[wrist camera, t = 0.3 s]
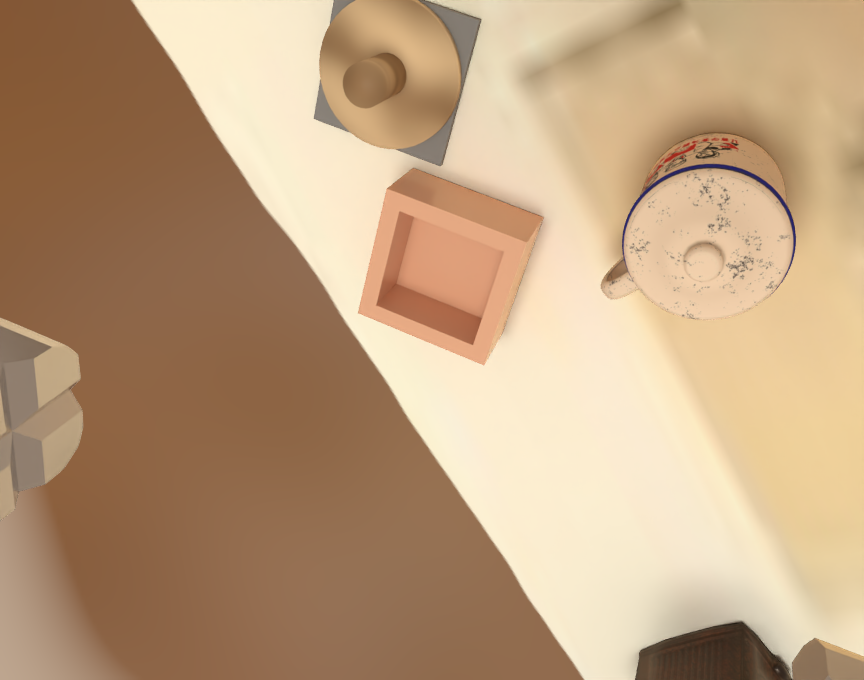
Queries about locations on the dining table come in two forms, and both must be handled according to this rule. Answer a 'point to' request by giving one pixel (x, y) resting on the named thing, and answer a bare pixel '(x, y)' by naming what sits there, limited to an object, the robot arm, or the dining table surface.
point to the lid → (390, 71)
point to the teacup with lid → (707, 230)
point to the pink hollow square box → (447, 264)
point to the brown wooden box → (711, 657)
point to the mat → (464, 38)
